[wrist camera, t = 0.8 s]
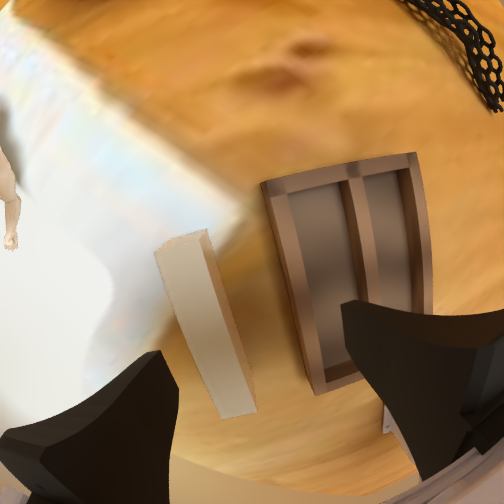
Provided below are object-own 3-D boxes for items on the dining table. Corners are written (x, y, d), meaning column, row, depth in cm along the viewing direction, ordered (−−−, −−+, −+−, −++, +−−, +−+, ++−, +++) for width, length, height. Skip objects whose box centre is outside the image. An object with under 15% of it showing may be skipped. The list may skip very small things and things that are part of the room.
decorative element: (496, 99, 18) (529, 91, 12) (487, 118, 18) (524, 112, 13) (367, -41, 14) (386, -67, 8) (345, -34, 14) (365, -65, 8)
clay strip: (252, 371, 21) (257, 412, 16) (222, 378, 21) (222, 419, 16) (207, 228, 19) (198, 239, 14) (172, 238, 19) (153, 252, 14)
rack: (414, 333, 22) (430, 346, 19) (306, 376, 21) (315, 396, 19) (395, 155, 18) (416, 151, 16) (260, 183, 18) (265, 180, 15)
